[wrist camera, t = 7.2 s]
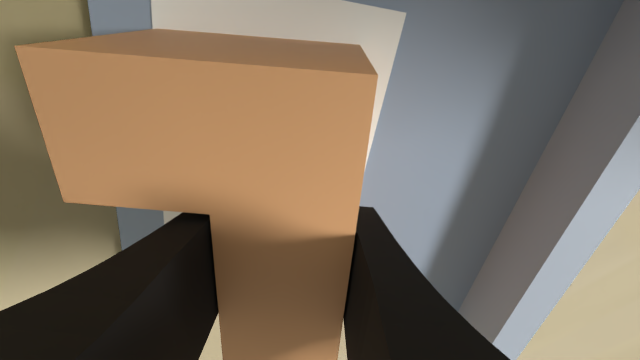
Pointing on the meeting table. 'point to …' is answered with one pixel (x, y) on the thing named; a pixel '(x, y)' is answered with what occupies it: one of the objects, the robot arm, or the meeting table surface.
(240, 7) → the board
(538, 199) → the walls
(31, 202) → the meeting table surface
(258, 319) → the bracket
